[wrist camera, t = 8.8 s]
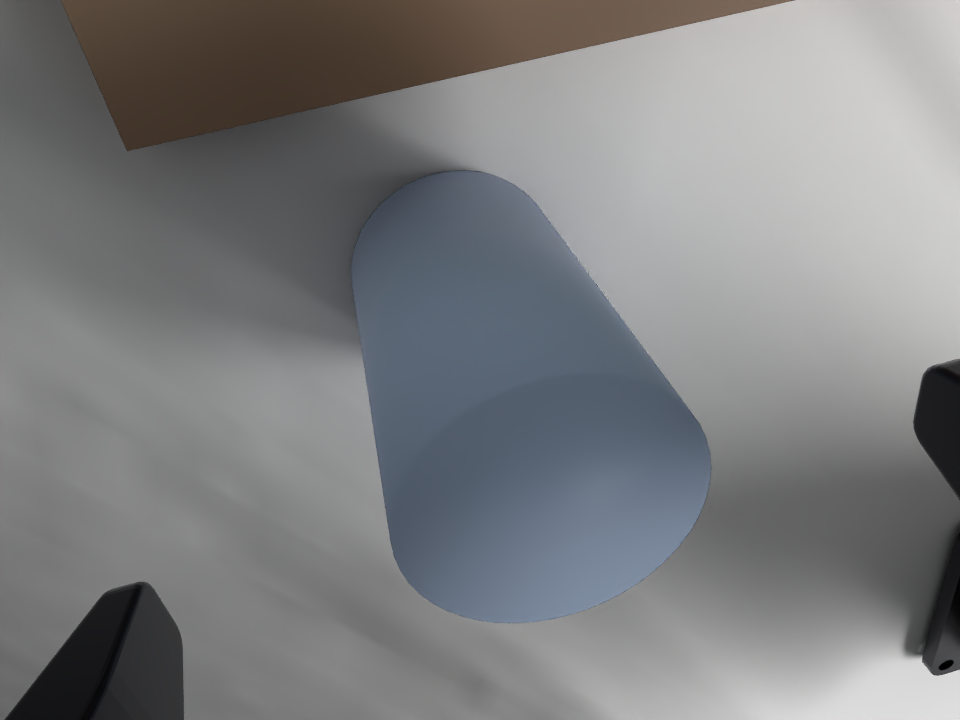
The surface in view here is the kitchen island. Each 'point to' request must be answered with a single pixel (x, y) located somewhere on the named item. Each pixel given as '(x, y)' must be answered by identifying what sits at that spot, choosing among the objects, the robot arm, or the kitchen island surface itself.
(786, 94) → the kitchen island surface
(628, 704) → the kitchen island surface
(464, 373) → the light blue cylinder
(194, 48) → the board
